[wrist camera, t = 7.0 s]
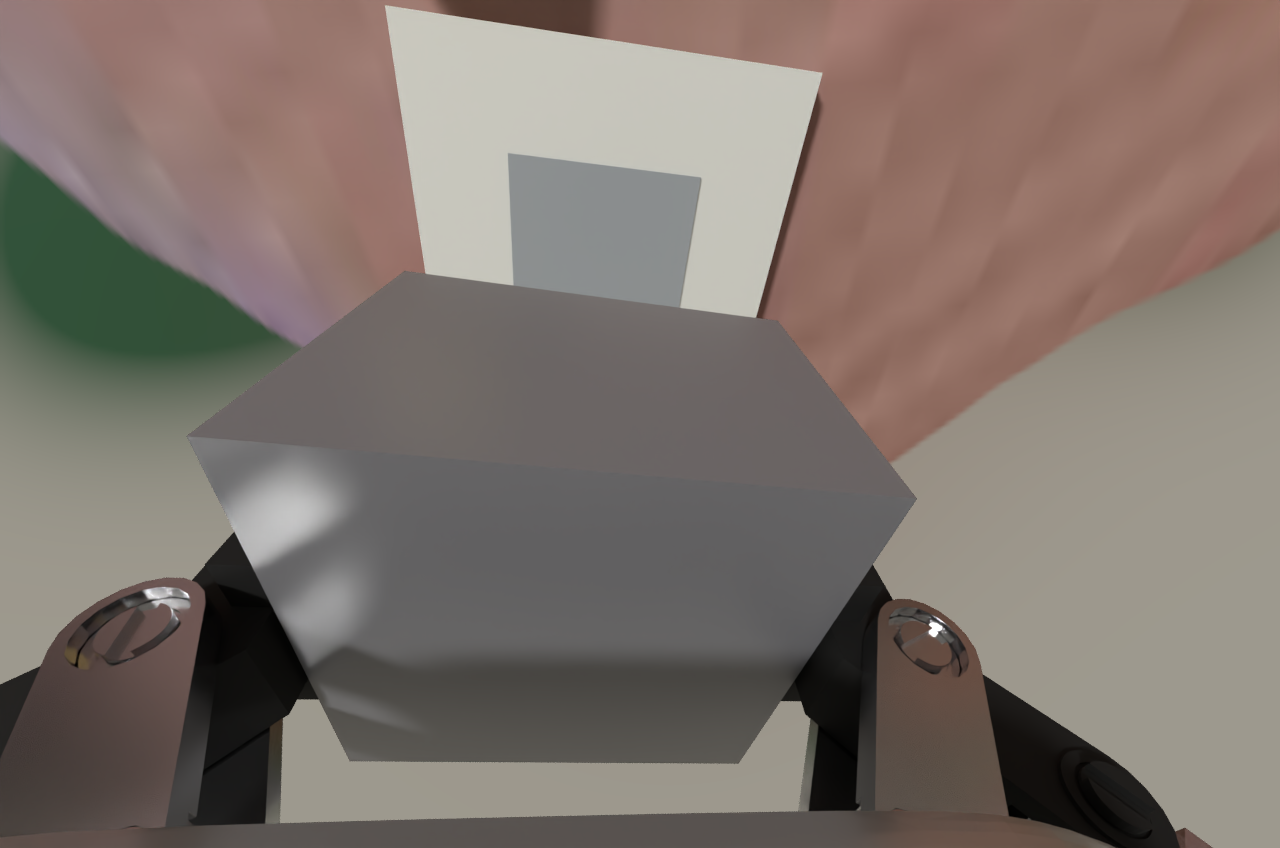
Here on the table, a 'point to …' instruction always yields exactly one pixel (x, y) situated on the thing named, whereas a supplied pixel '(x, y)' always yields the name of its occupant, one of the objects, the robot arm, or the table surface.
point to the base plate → (596, 161)
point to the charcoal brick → (549, 522)
